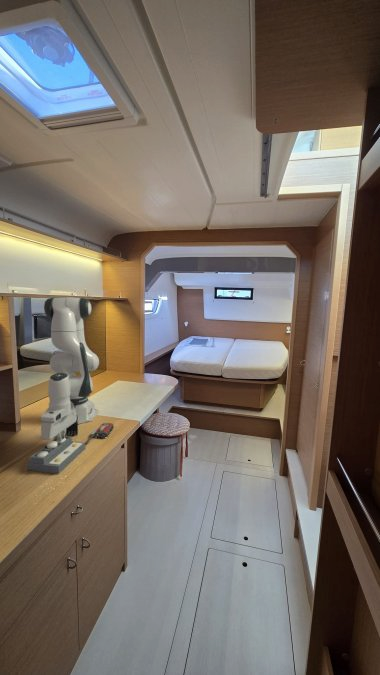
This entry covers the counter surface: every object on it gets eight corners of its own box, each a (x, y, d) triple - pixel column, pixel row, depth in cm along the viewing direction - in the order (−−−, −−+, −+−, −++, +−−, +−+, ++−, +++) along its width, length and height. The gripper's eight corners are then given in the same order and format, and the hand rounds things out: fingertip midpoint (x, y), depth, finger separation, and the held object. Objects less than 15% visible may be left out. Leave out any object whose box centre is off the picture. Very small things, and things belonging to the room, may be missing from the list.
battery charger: (62, 437, 134) (61, 415, 133) (64, 434, 138) (63, 412, 137) (77, 436, 135) (76, 415, 134) (78, 433, 139) (78, 412, 138)
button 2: (60, 441, 124) (59, 437, 124) (68, 442, 124) (67, 438, 123) (54, 445, 120) (54, 441, 120) (62, 446, 120) (62, 442, 119)
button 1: (41, 455, 112) (41, 450, 112) (50, 456, 112) (50, 451, 112) (34, 460, 108) (34, 455, 108) (43, 461, 108) (43, 457, 108)
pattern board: (57, 445, 126) (57, 434, 126) (85, 448, 124) (84, 437, 124) (26, 469, 108) (26, 456, 107) (58, 473, 106) (58, 460, 105)
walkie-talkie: (98, 427, 147) (83, 446, 127) (98, 419, 147) (83, 437, 127) (114, 427, 147) (102, 446, 127) (114, 420, 147) (102, 437, 127)
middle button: (51, 445, 118) (51, 440, 118) (59, 445, 118) (59, 441, 117) (45, 449, 114) (44, 445, 114) (53, 450, 114) (53, 446, 113)
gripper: (67, 401, 131) (68, 429, 132) (37, 418, 111) (38, 450, 112) (79, 402, 130) (80, 430, 131) (51, 419, 110) (52, 452, 111)
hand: (61, 439), depth 121 cm, fingers closed, pressing on button 2
